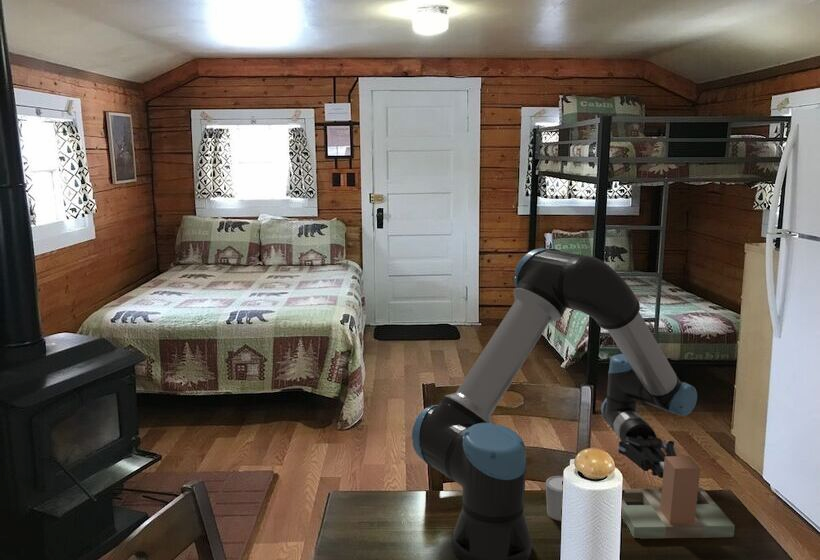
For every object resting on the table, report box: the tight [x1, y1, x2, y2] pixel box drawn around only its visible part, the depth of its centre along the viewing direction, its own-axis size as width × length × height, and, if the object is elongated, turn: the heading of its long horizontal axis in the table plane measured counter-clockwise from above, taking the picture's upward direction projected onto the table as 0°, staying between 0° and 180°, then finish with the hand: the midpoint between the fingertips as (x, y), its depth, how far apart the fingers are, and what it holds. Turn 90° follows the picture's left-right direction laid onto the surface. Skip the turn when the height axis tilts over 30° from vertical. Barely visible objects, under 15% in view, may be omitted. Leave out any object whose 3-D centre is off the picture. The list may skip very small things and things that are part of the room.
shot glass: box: [545, 475, 563, 522], centre depth 142 cm, size 7×7×7 cm
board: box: [621, 487, 736, 539], centre depth 141 cm, size 14×20×2 cm
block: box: [660, 455, 701, 524], centre depth 136 cm, size 5×5×12 cm
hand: (675, 482), depth 139 cm, fingers closed
